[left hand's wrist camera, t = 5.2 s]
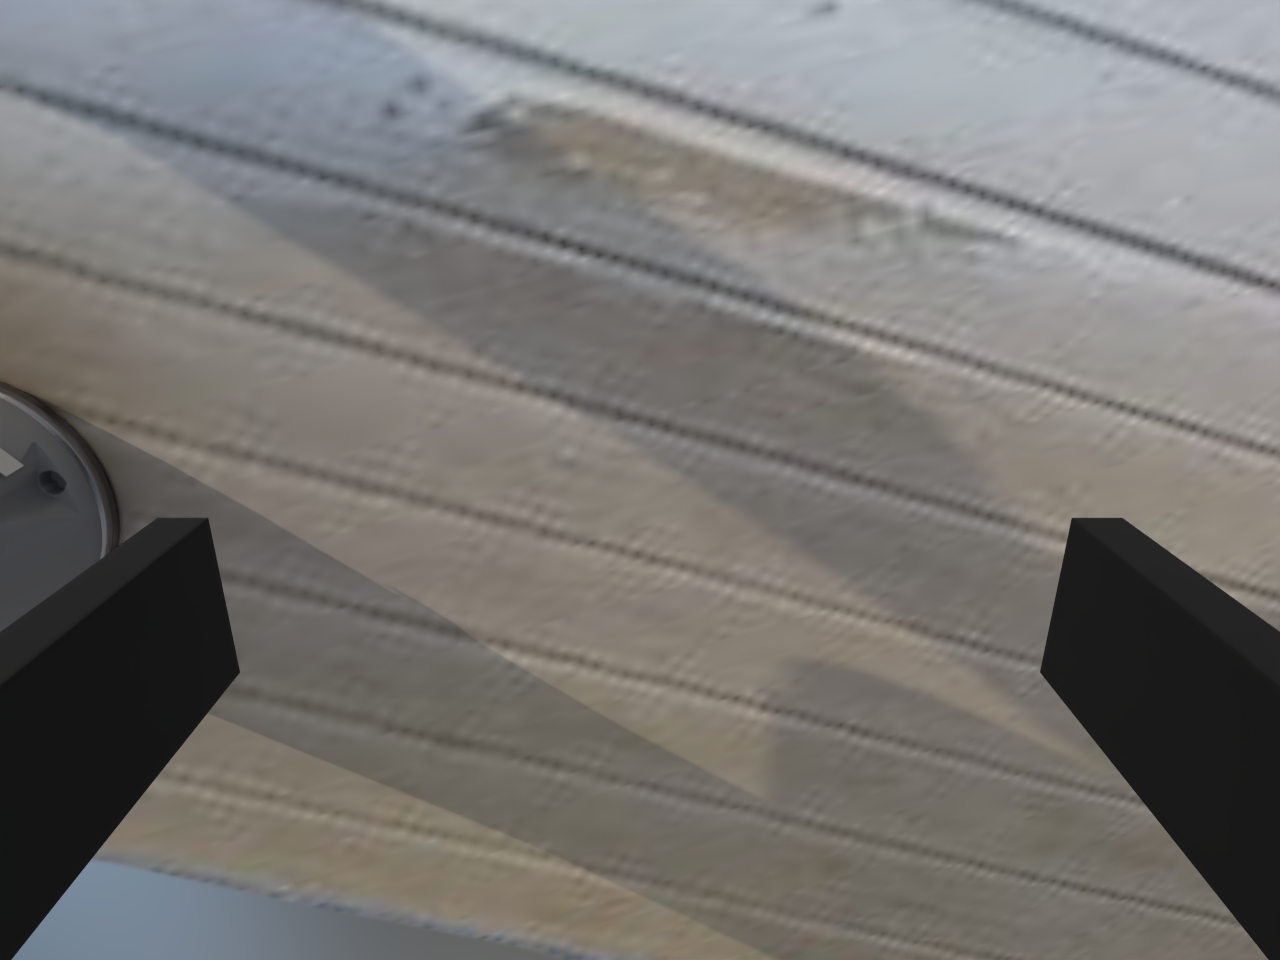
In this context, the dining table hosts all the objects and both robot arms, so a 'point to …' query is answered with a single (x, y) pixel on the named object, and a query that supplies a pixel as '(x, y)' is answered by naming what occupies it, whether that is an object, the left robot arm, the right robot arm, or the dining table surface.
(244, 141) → the dining table surface
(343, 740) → the dining table surface
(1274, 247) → the dining table surface
